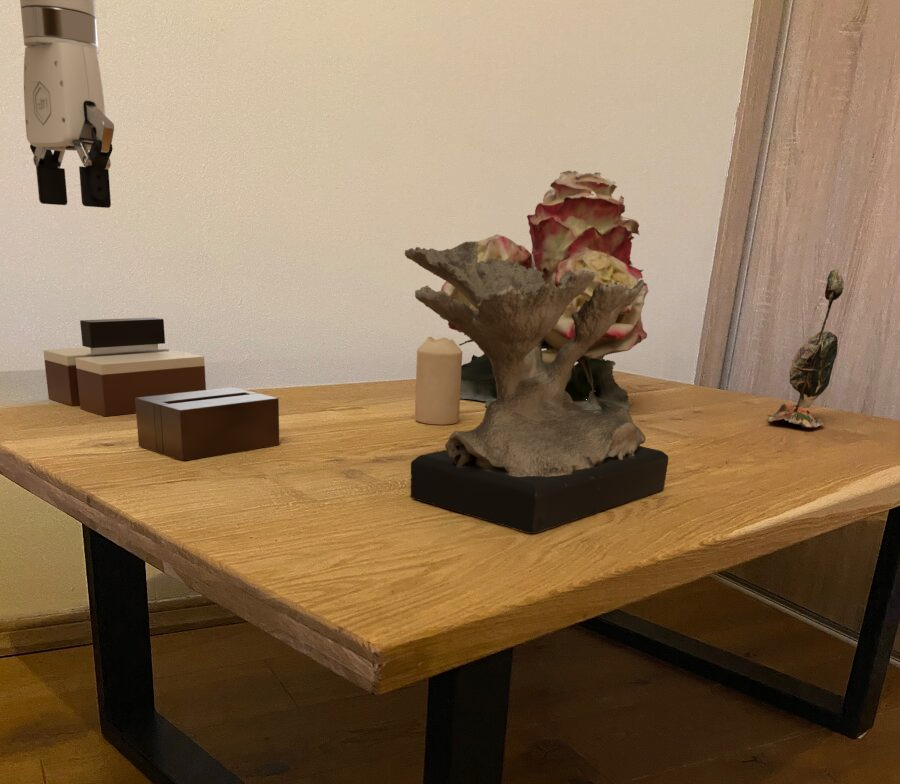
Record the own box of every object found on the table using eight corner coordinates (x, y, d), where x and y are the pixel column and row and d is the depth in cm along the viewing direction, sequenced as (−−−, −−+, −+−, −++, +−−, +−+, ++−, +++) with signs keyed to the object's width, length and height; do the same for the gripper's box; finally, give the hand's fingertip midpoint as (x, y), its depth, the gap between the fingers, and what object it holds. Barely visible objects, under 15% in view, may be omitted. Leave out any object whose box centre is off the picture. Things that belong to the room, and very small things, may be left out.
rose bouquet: (414, 394, 132) (422, 163, 121) (564, 383, 149) (583, 178, 138) (532, 429, 114) (555, 159, 102) (688, 412, 130) (723, 178, 119)
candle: (407, 421, 114) (410, 338, 110) (425, 414, 119) (428, 334, 115) (448, 427, 112) (452, 342, 109) (465, 419, 117) (469, 338, 113)
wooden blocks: (105, 416, 108) (100, 364, 106) (48, 399, 116) (42, 350, 114) (206, 404, 118) (204, 356, 116) (147, 388, 126) (144, 343, 124)
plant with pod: (842, 423, 127) (875, 270, 120) (808, 433, 120) (840, 269, 112) (786, 414, 132) (814, 265, 125) (750, 422, 125) (777, 265, 117)
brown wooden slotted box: (183, 461, 91) (180, 410, 89) (138, 446, 96) (134, 397, 94) (279, 445, 99) (278, 398, 97) (234, 432, 104) (232, 387, 102)
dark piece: (97, 407, 113) (89, 322, 109) (88, 404, 114) (79, 320, 111) (169, 399, 120) (163, 319, 116) (159, 396, 121) (154, 317, 118)
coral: (503, 545, 72) (525, 249, 64) (333, 488, 84) (333, 235, 76) (671, 492, 89) (705, 254, 81) (508, 451, 101) (524, 242, 93)
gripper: (-11, 34, 103) (7, 201, 109) (67, 20, 92) (82, 206, 99) (54, 46, 108) (68, 205, 114) (135, 34, 98) (145, 210, 104)
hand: (74, 205), depth 107 cm, fingers open, 9 cm apart
